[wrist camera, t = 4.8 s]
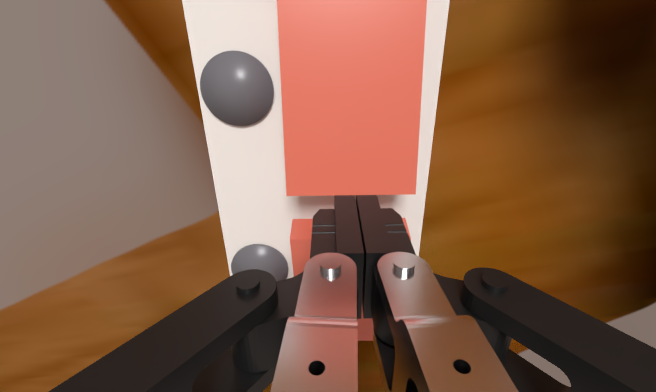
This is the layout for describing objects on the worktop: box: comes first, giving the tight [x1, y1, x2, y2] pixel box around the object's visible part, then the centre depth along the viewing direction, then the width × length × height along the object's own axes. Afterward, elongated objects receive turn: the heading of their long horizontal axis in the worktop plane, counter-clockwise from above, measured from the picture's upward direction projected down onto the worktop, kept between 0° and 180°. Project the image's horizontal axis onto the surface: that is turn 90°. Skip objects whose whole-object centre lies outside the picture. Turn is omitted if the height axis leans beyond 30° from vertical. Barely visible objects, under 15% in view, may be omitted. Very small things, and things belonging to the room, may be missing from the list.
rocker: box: [290, 218, 411, 341], centre depth 21 cm, size 6×9×2 cm, turn 1°
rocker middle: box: [277, 0, 427, 196], centre depth 16 cm, size 6×9×2 cm, turn 1°
